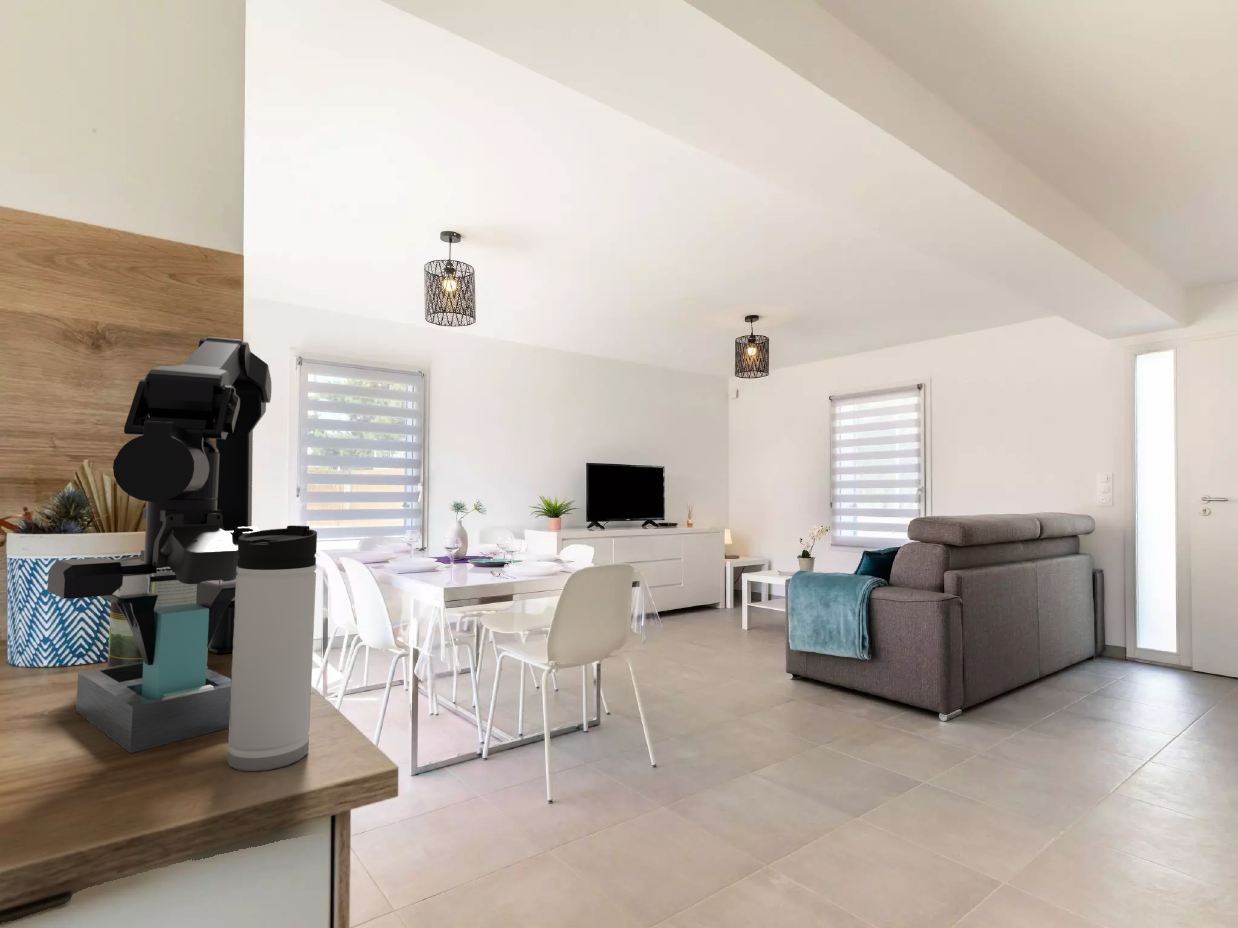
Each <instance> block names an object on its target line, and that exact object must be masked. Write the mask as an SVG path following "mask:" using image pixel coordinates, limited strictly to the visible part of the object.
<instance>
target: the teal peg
mask: <svg viewBox="0 0 1238 928" xmlns="http://www.w3.org/2000/svg"><path fill="white" fill-rule="evenodd" d="M208 622H209V608H206V607H203V606H200V605H197V604H194V603H189V604H181V605H172V606H163V607H155V608H154V627H155V654H154V662H153V665H147V664H145V662H144V660H143V679H142V697H144V698H146V699H147V700H153V699H158V698H162V694H167V693H172V692H177V691H182V690H186V689H191V688H196V687H201V686H205V684H206V664H207V665H208V654H207V643H208Z"/></svg>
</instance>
